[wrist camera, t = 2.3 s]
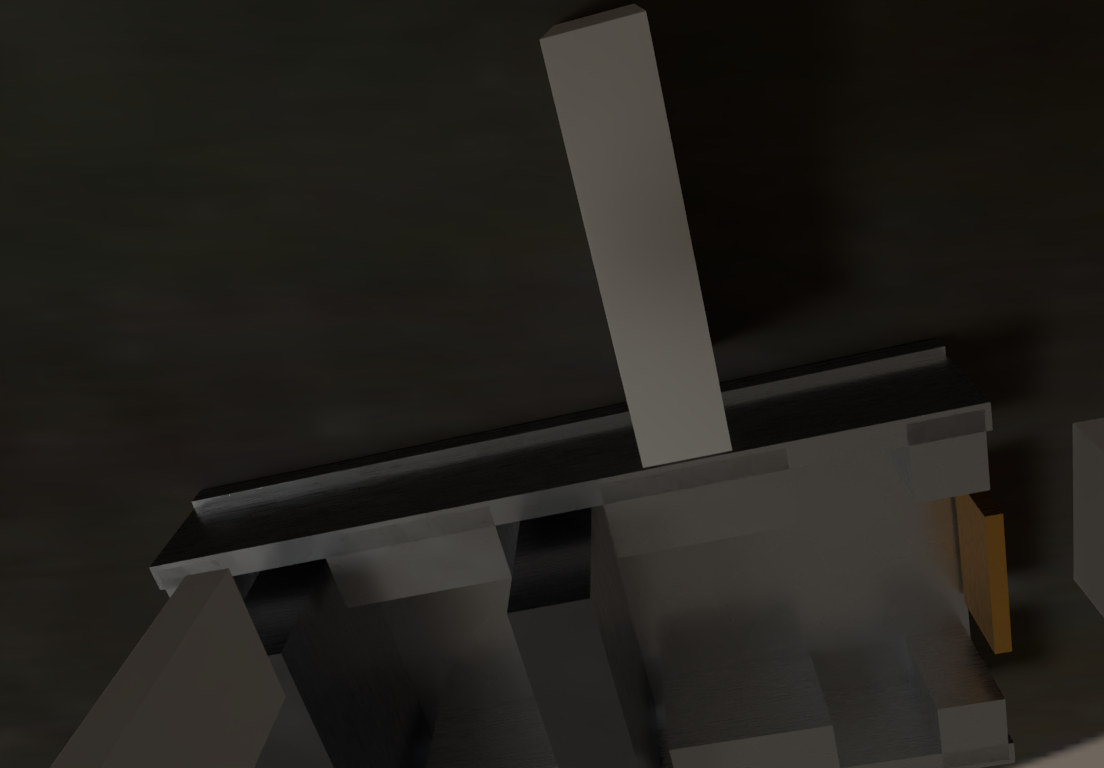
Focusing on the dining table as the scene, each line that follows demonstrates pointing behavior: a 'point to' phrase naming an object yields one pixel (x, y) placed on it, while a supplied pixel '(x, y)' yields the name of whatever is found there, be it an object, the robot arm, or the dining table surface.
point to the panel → (637, 230)
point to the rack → (639, 587)
